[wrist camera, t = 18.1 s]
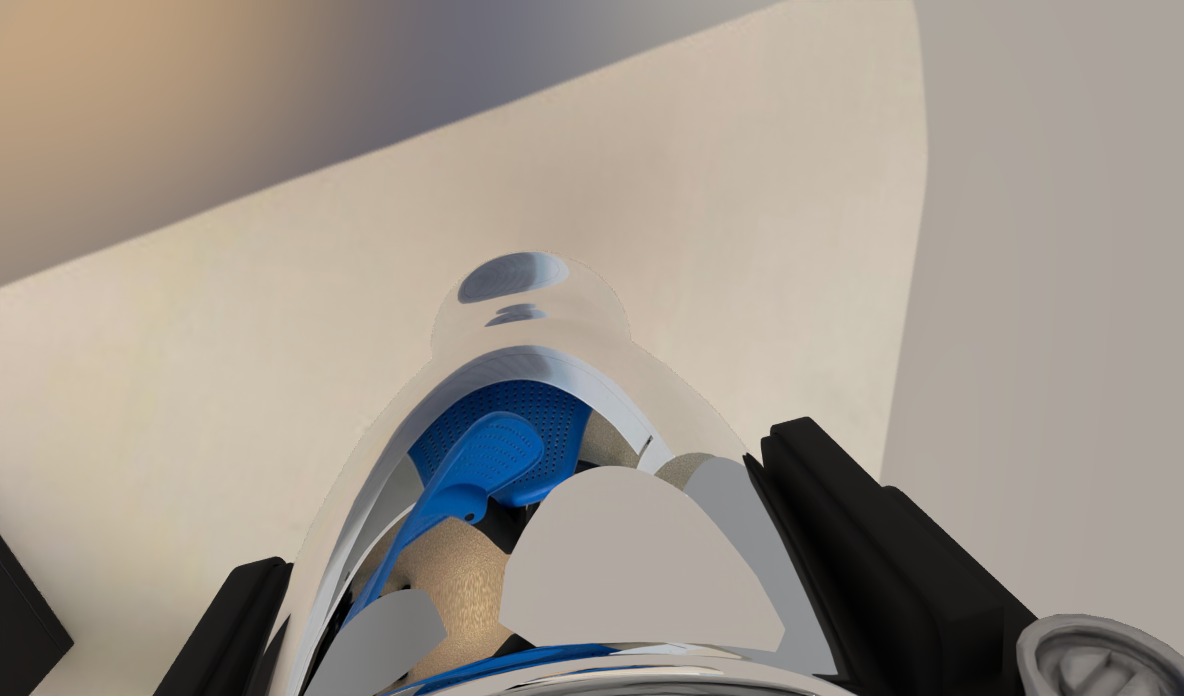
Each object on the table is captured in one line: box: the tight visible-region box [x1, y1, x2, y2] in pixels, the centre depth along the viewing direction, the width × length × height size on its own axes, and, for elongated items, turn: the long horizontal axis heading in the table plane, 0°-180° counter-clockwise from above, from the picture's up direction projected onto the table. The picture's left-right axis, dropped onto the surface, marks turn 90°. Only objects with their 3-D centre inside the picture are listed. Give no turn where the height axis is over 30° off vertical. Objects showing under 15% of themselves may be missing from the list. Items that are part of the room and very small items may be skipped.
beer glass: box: [240, 250, 901, 696], centre depth 12 cm, size 7×7×15 cm
